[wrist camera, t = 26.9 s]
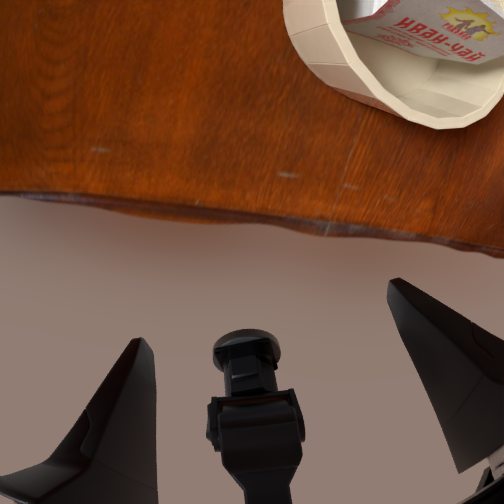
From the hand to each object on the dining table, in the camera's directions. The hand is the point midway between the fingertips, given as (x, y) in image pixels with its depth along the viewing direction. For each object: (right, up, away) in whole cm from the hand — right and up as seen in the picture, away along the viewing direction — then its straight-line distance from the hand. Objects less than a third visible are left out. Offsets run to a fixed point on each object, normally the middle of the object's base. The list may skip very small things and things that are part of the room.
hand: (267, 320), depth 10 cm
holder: (+7, +17, +4) cm, 19 cm away
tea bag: (+7, +17, +3) cm, 19 cm away
